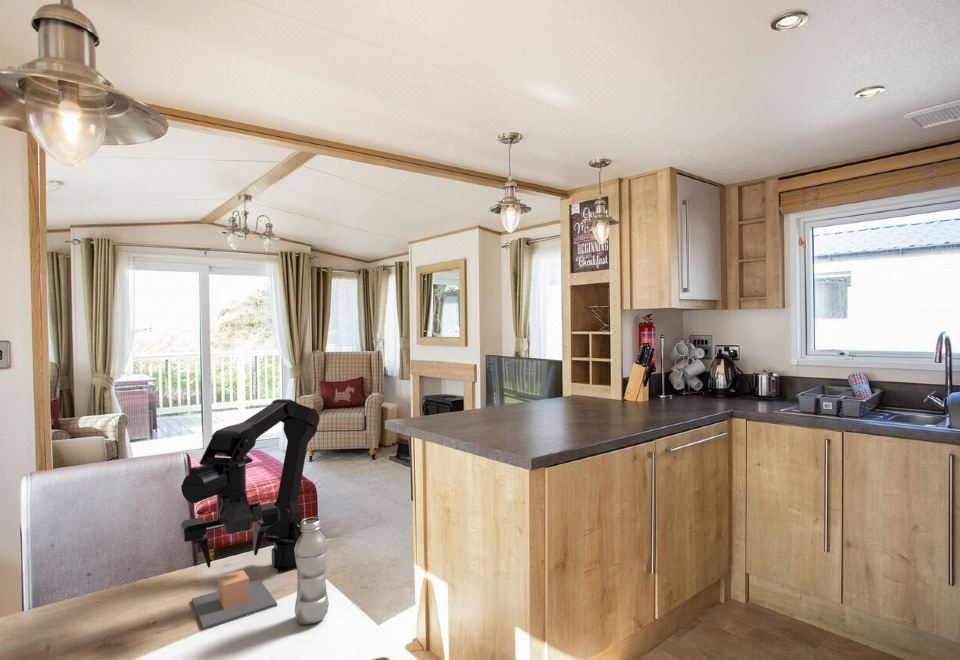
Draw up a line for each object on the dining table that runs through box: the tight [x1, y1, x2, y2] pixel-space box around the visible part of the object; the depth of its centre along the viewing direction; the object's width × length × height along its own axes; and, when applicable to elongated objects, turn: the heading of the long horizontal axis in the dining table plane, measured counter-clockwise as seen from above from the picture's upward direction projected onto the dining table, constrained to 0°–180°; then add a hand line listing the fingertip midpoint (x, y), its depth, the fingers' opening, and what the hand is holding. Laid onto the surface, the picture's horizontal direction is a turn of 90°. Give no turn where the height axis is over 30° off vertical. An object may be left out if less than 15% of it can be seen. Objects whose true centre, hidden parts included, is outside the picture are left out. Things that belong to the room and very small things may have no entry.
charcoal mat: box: [191, 578, 278, 631], centre depth 111 cm, size 14×14×1 cm
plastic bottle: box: [294, 516, 330, 625], centre depth 105 cm, size 6×7×20 cm
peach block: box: [217, 569, 250, 609], centre depth 111 cm, size 5×5×5 cm
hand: (232, 560), depth 111 cm, fingers open, 9 cm apart
